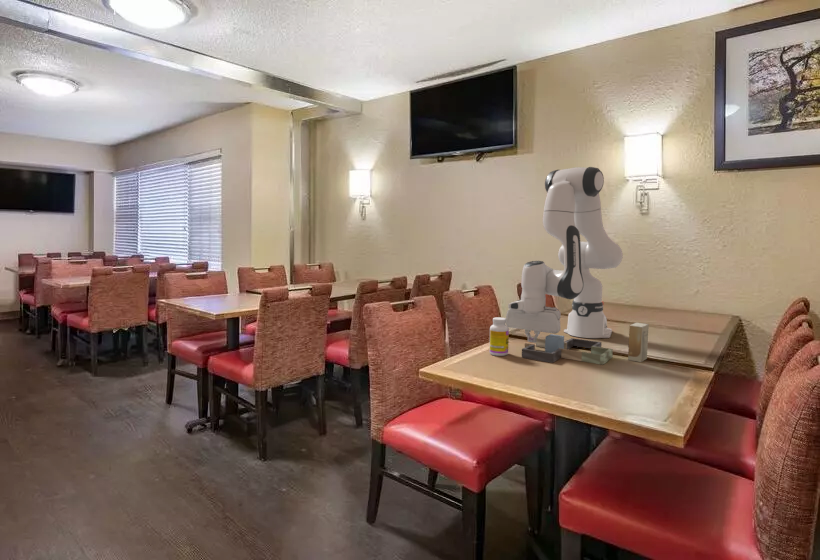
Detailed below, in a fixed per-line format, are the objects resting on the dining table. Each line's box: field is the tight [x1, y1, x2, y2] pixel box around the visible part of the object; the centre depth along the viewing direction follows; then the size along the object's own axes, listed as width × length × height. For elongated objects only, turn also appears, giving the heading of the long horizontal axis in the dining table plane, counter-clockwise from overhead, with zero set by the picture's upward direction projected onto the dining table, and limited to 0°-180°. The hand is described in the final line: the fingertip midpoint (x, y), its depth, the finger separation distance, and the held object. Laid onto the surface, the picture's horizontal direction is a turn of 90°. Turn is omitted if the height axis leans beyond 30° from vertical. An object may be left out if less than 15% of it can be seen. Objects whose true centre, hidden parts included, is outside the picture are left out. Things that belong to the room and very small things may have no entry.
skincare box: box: [627, 322, 650, 363], centre depth 163 cm, size 6×4×12 cm
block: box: [544, 333, 565, 353], centre depth 173 cm, size 5×5×6 cm
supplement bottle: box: [488, 316, 510, 357], centre depth 171 cm, size 7×7×13 cm
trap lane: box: [521, 337, 614, 366], centre depth 170 cm, size 27×28×3 cm
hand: (532, 342), depth 178 cm, fingers closed
